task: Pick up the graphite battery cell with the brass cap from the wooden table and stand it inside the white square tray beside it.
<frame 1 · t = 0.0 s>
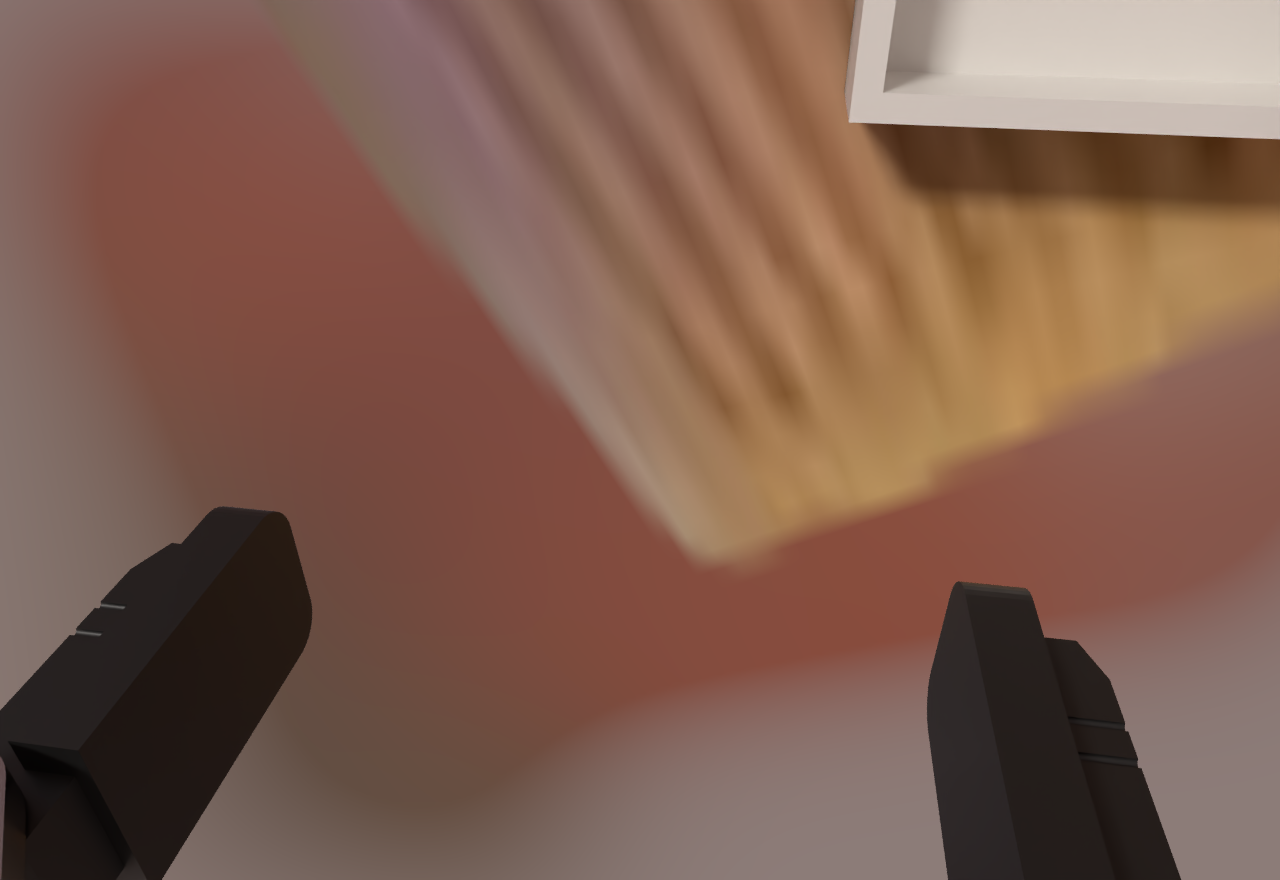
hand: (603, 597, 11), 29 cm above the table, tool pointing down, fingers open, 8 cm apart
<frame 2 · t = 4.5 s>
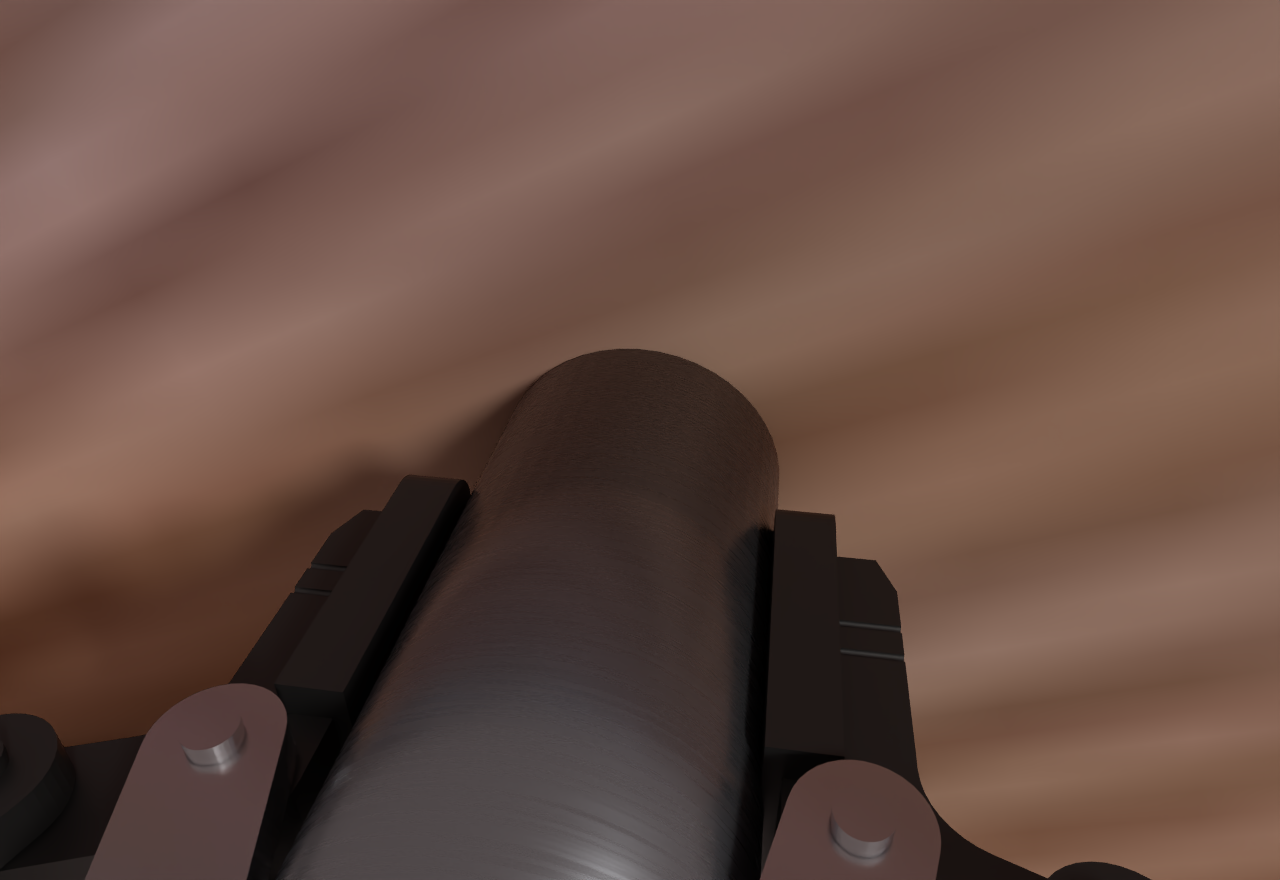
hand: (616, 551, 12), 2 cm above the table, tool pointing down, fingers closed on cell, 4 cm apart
cell: (639, 472, 13), on the table, touching gripper
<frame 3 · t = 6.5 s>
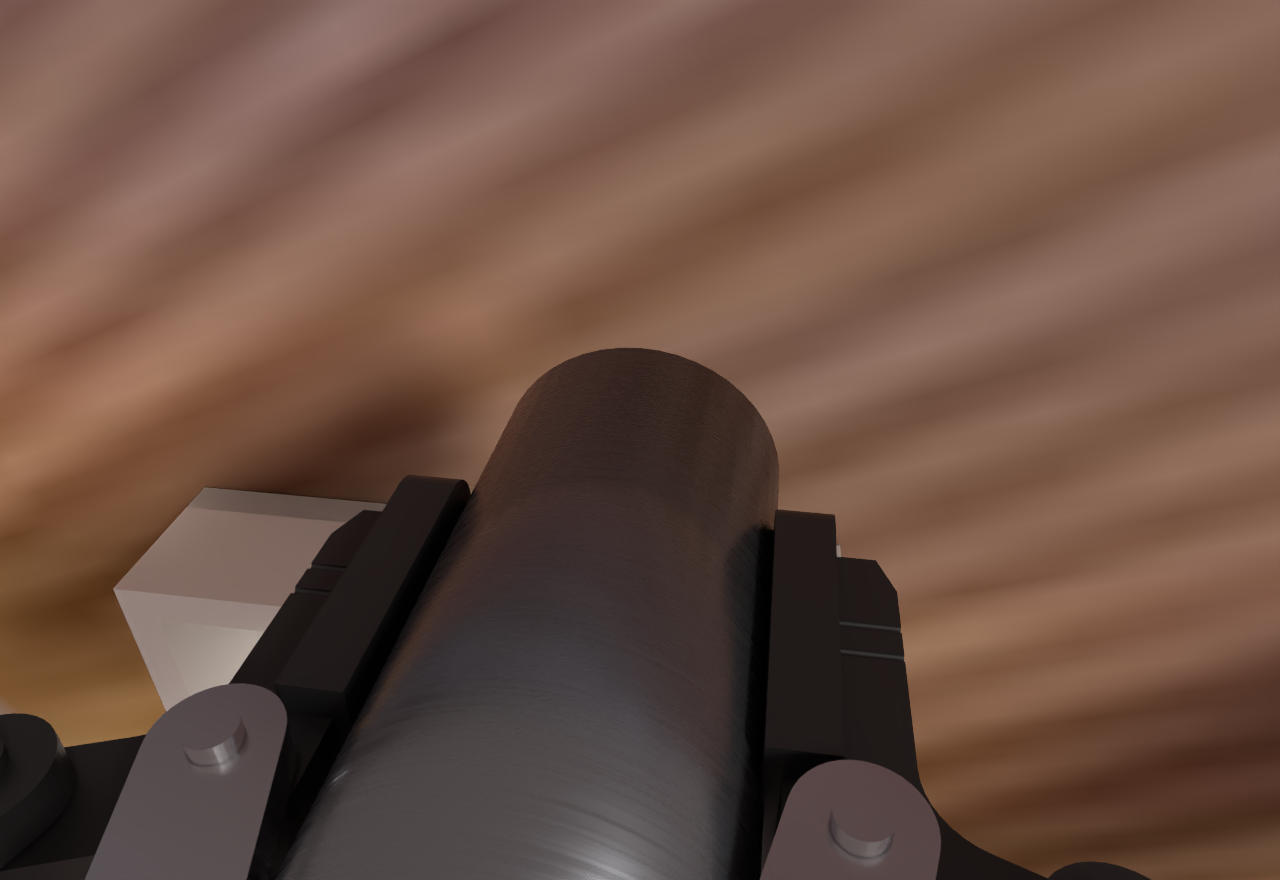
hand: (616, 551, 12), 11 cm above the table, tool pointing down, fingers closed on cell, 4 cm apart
cell: (639, 470, 13), point 9 cm above the table, touching gripper
white square tray: (529, 719, 32), on the table
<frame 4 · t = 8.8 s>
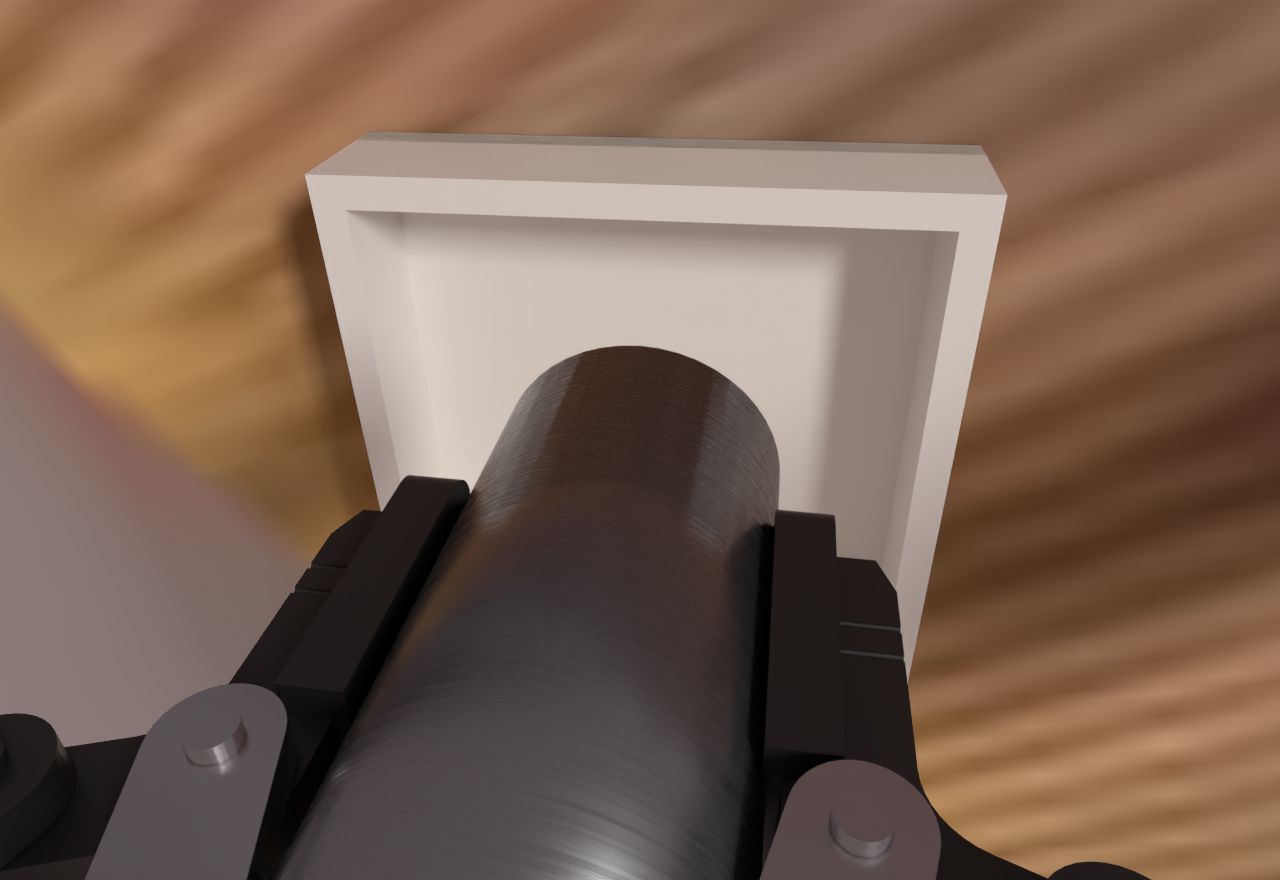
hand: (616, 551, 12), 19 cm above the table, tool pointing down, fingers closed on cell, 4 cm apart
cell: (640, 469, 13), point 18 cm above the table, touching gripper
white square tray: (662, 390, 33), on the table
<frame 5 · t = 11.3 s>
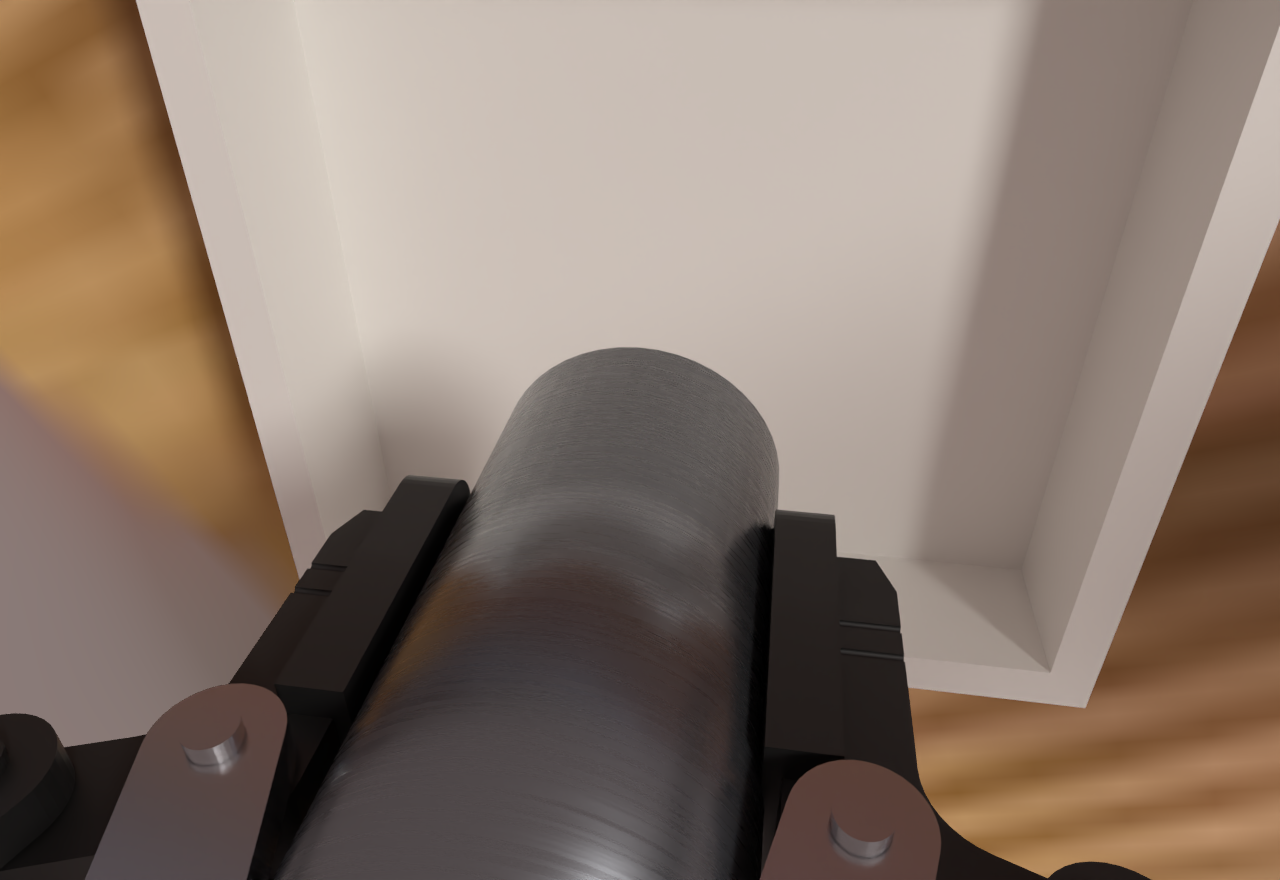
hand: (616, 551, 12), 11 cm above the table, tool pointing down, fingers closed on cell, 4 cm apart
cell: (639, 470, 13), point 9 cm above the table, touching gripper
white square tray: (706, 241, 21), on the table
when the fingers open (4 cm above the table, at t = 13.3 s): cell drops 1 cm, resting on white square tray.
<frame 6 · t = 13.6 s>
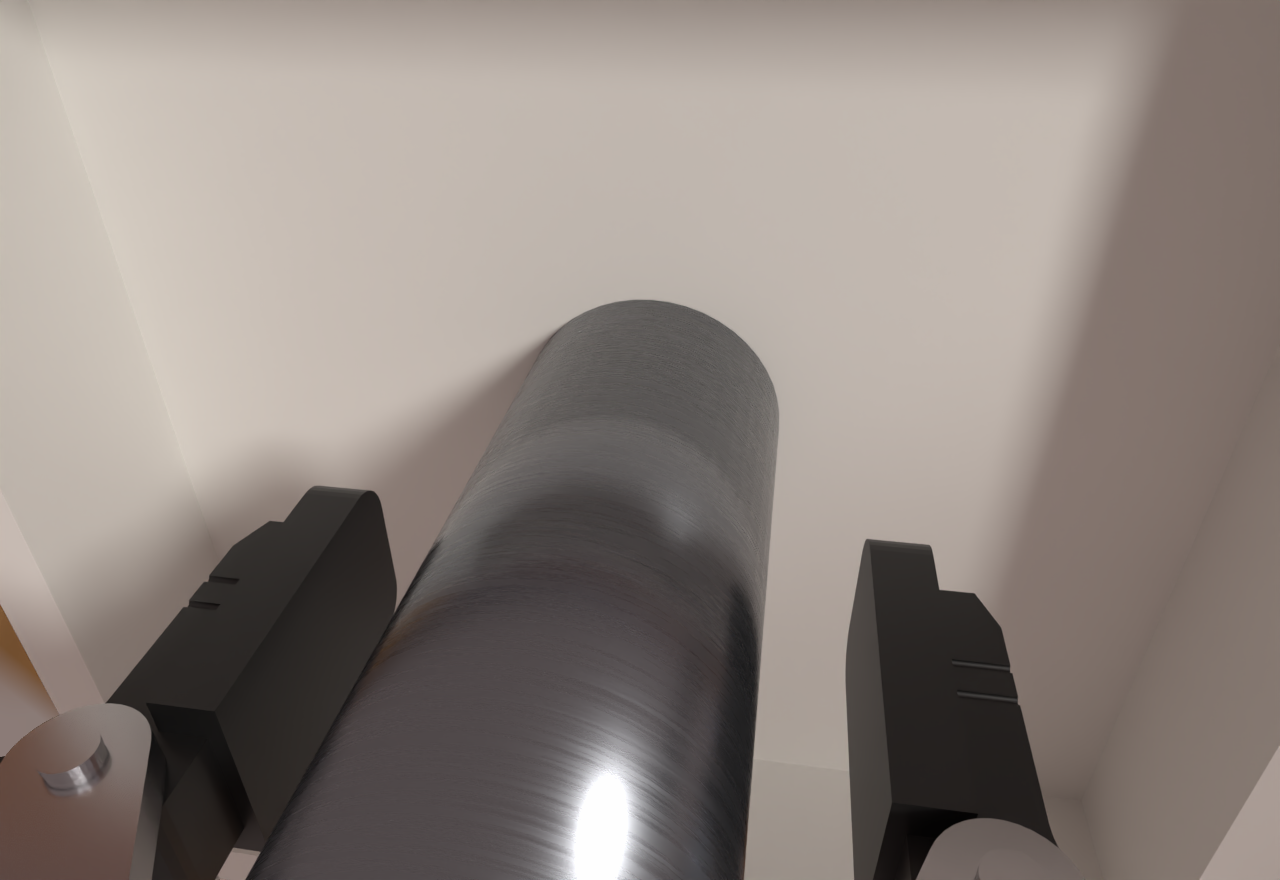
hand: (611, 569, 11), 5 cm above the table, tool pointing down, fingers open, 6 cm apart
cell: (651, 416, 14), point 1 cm above the table, touching white square tray
white square tray: (660, 386, 15), on the table
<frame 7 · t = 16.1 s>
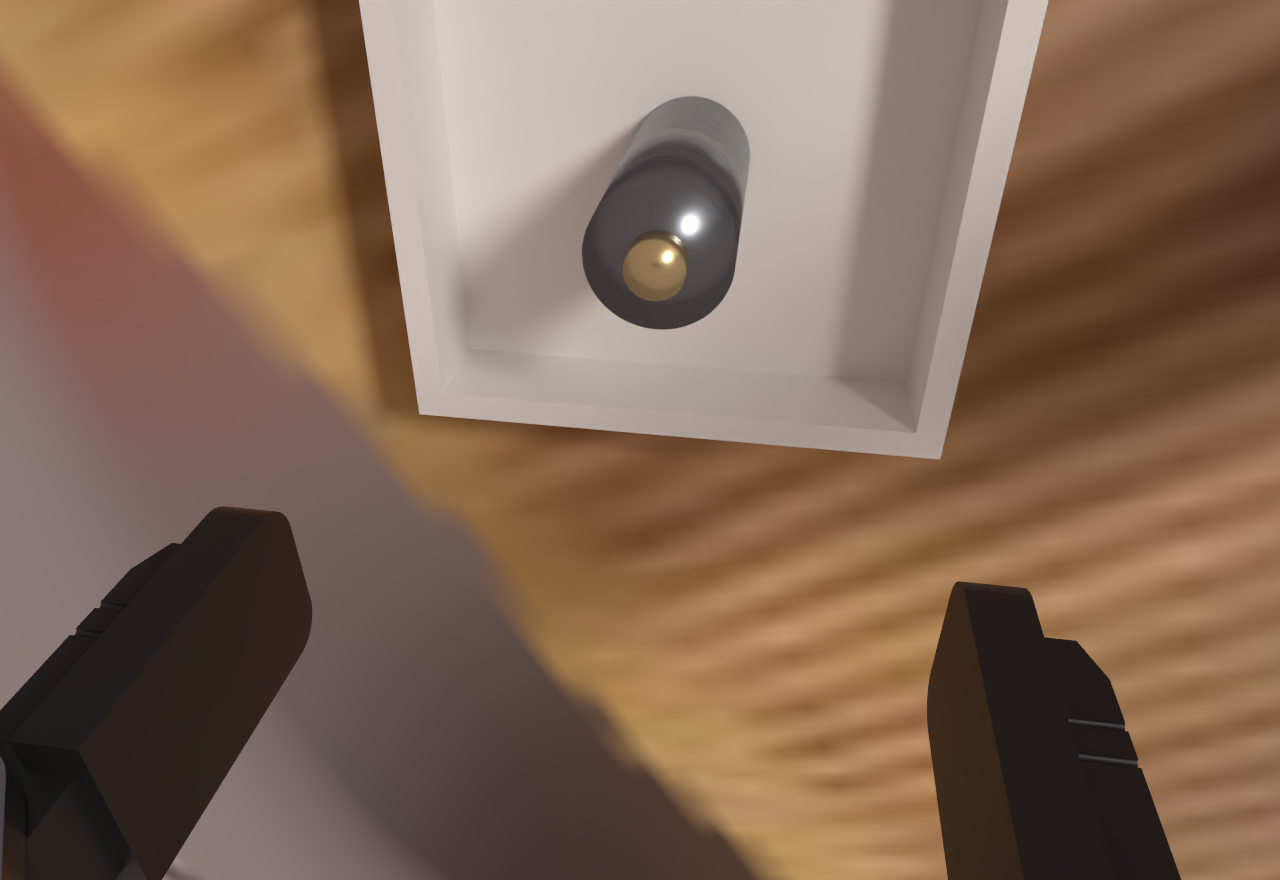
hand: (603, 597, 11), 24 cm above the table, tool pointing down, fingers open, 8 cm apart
cell: (690, 157, 31), point 1 cm above the table, touching white square tray
white square tray: (693, 150, 32), on the table
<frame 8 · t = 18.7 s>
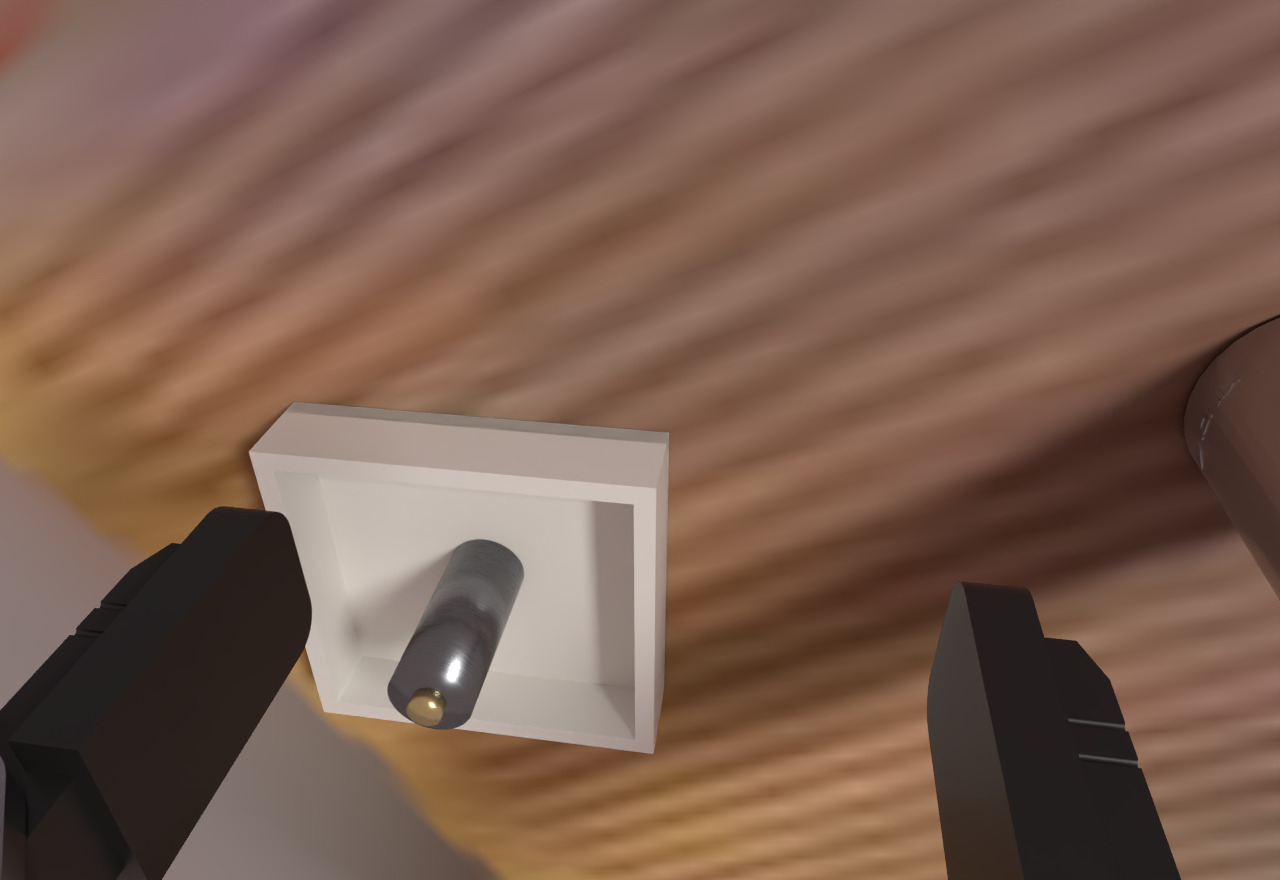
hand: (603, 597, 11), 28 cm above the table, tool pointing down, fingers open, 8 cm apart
cell: (487, 568, 49), point 1 cm above the table, touching white square tray
white square tray: (493, 556, 50), on the table
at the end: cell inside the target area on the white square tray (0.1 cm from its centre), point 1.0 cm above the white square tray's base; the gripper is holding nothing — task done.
